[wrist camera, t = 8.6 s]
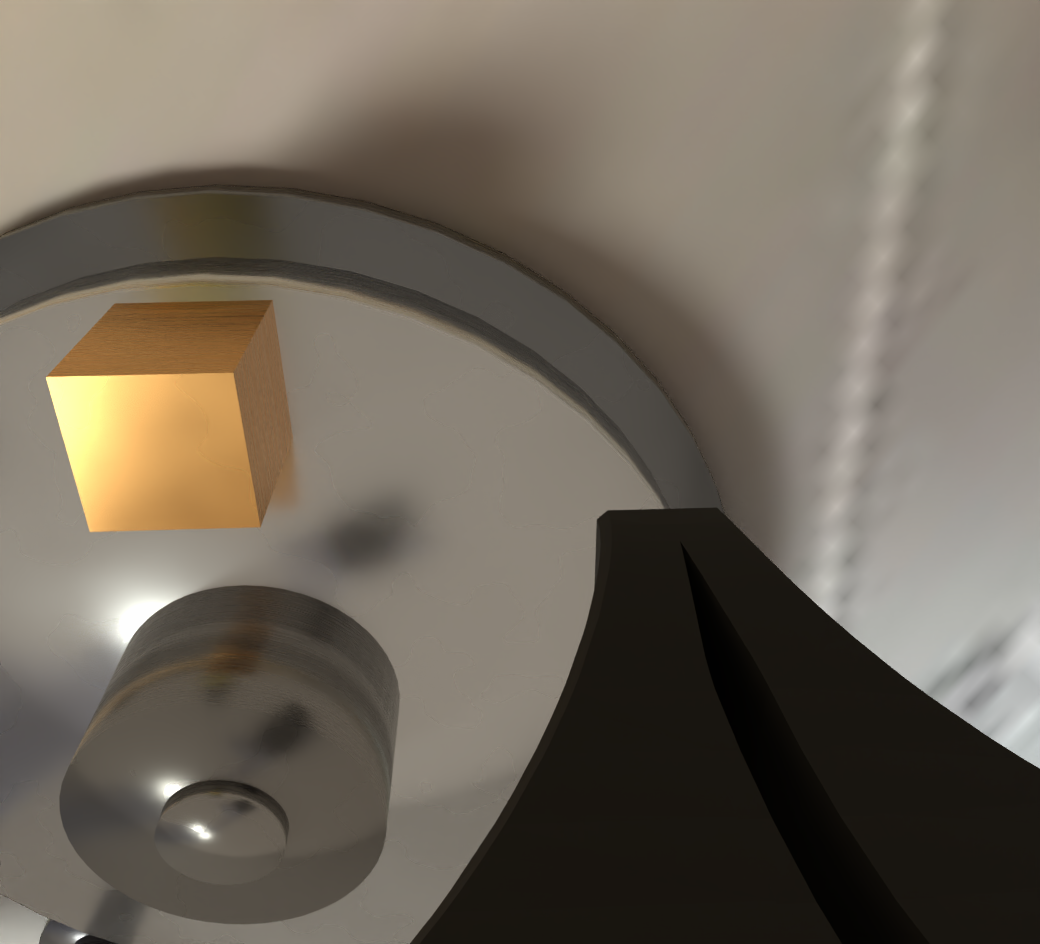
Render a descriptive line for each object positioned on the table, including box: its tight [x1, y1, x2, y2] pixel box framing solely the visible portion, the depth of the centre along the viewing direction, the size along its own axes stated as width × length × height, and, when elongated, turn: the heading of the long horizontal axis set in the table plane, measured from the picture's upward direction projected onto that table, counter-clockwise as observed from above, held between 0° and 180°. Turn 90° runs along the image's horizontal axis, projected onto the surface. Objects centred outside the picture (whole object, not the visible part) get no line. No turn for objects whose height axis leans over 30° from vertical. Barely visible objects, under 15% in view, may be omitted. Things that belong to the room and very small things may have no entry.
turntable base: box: [0, 185, 724, 514], centre depth 22 cm, size 20×20×1 cm
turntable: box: [0, 257, 670, 944], centre depth 19 cm, size 18×18×4 cm
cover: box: [59, 585, 400, 924], centre depth 18 cm, size 6×6×4 cm
